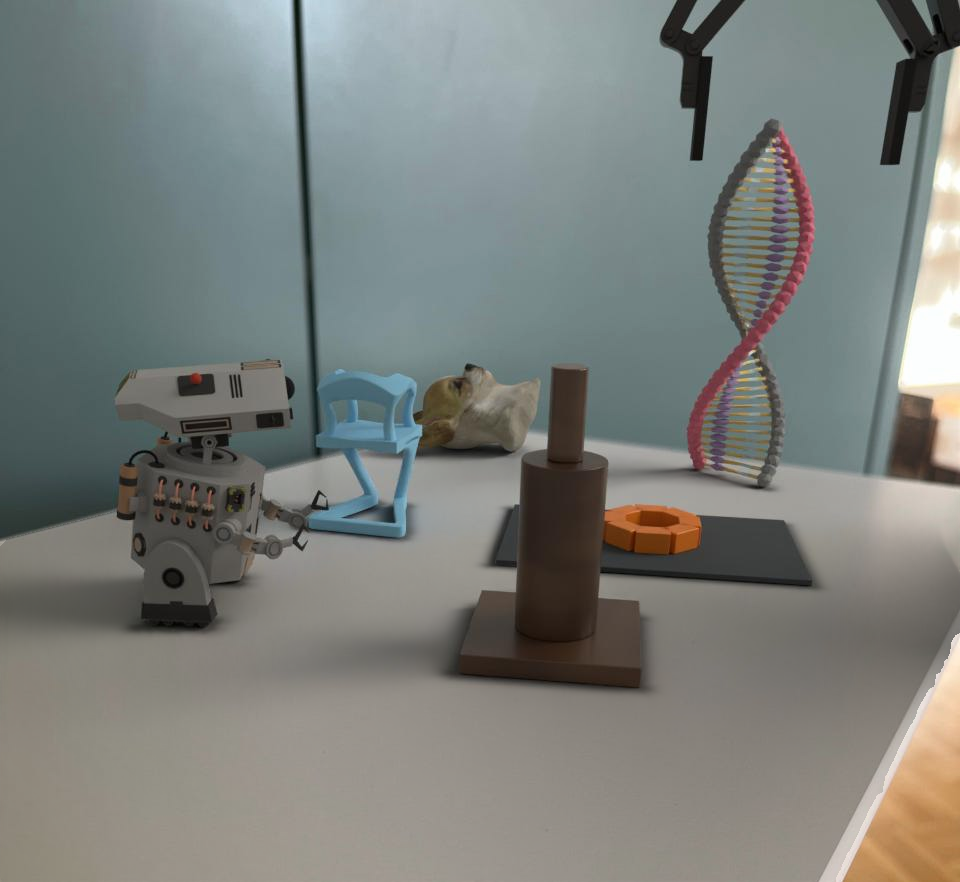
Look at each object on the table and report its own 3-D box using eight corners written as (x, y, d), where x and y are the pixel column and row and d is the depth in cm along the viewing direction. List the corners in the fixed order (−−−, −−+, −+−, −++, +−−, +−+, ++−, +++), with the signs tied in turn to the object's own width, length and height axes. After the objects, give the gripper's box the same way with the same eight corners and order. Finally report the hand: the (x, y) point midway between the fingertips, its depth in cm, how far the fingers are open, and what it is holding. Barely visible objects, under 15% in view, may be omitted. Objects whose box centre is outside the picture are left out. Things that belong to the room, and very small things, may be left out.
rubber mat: (783, 524, 84) (784, 519, 84) (811, 585, 72) (812, 580, 71) (514, 508, 87) (514, 503, 86) (495, 564, 74) (495, 559, 74)
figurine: (306, 633, 62) (294, 379, 56) (117, 625, 62) (84, 373, 56) (331, 579, 71) (323, 353, 64) (164, 573, 71) (140, 348, 65)
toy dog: (535, 370, 96) (378, 373, 98) (537, 462, 100) (384, 463, 102) (544, 354, 106) (400, 357, 108) (545, 438, 109) (405, 440, 111)
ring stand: (637, 617, 66) (662, 355, 59) (640, 687, 56) (669, 387, 50) (481, 606, 67) (488, 348, 60) (458, 673, 58) (463, 378, 51)
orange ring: (695, 527, 82) (697, 507, 81) (701, 557, 75) (703, 536, 75) (603, 521, 83) (605, 502, 82) (601, 550, 76) (603, 530, 75)
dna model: (722, 461, 103) (763, 125, 91) (798, 481, 97) (853, 122, 85) (662, 474, 98) (697, 119, 85) (739, 496, 91) (788, 117, 79)
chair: (433, 508, 86) (433, 360, 81) (402, 538, 79) (400, 378, 74) (345, 499, 88) (341, 354, 83) (307, 528, 80) (299, 371, 75)
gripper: (643, -223, 64) (617, 157, 72) (1069, -230, 61) (989, 166, 70) (641, -184, 70) (617, 159, 79) (1024, -189, 68) (956, 167, 77)
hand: (791, 163), depth 74 cm, fingers open, 13 cm apart
